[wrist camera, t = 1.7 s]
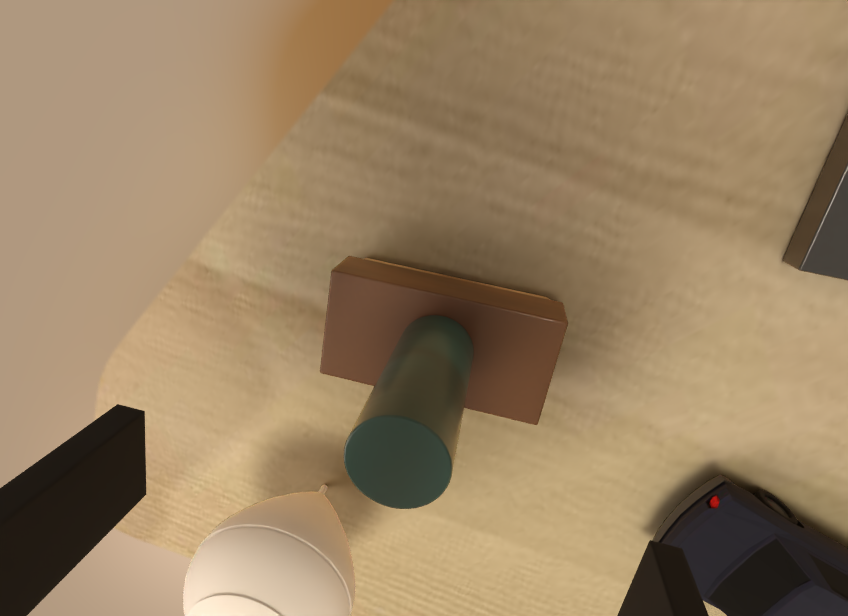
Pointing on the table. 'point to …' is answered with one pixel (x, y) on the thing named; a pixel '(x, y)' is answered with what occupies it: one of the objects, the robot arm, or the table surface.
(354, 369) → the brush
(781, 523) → the toy car
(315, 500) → the spinning top
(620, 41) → the table surface
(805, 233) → the slate board
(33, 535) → the robot arm
